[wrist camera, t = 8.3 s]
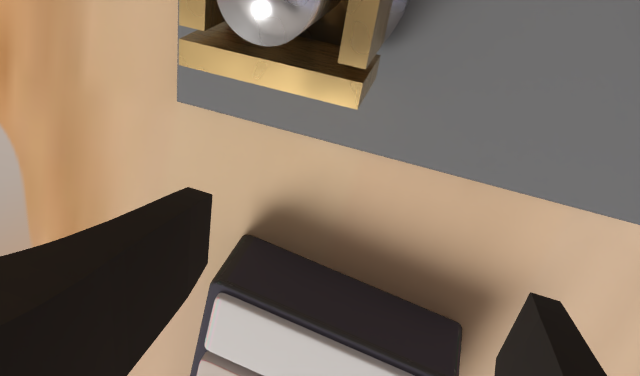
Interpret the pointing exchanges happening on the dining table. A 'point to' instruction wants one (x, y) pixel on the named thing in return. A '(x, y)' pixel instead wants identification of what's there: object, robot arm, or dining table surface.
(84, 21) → the dining table surface
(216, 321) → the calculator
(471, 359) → the dining table surface
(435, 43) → the mat
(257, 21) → the silver disc with post
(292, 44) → the bronze square frame
